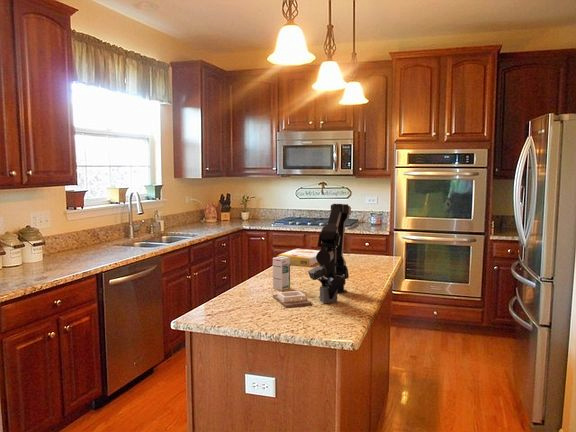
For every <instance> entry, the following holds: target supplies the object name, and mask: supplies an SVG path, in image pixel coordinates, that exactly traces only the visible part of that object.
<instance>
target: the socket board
mask: <svg viewBox="0 0 576 432" xmlns="http://www.w3.org/2000/svg"><path fill="white" fill-rule="evenodd" d="M306 297H307V295H306V294H305V293H303V292H302V291H301V290H292V291H283V292H277V294H272V298H273V299H275V301H277V302H278V304H280V305H282V307H284V308H287V309H288V308H295V307H306V306H307V307H308V306H312V302H311V301H310V300H309V299H307V298H306Z"/></svg>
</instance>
